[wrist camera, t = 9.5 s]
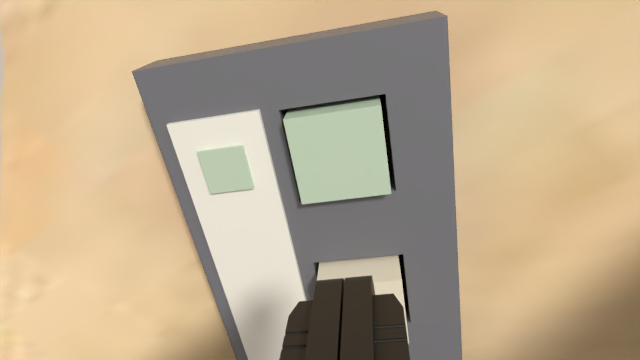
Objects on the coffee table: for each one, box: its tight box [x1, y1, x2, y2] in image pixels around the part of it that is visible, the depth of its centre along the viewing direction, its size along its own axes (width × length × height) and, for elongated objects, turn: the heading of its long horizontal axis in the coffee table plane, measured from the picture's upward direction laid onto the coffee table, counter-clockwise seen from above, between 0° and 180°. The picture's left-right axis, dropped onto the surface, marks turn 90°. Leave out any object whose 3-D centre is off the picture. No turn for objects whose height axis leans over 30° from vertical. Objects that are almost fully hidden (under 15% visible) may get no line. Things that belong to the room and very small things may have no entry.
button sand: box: [317, 255, 409, 344], centre depth 27 cm, size 5×5×4 cm
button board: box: [132, 11, 462, 360], centre depth 28 cm, size 16×32×4 cm, turn 10°
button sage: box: [283, 95, 391, 204], centre depth 24 cm, size 5×5×4 cm
